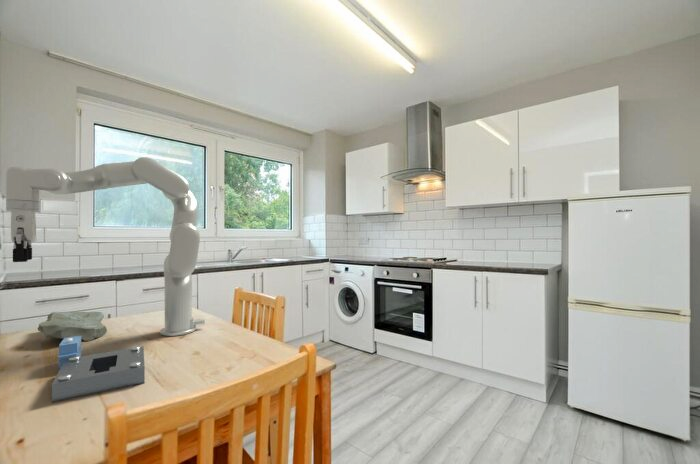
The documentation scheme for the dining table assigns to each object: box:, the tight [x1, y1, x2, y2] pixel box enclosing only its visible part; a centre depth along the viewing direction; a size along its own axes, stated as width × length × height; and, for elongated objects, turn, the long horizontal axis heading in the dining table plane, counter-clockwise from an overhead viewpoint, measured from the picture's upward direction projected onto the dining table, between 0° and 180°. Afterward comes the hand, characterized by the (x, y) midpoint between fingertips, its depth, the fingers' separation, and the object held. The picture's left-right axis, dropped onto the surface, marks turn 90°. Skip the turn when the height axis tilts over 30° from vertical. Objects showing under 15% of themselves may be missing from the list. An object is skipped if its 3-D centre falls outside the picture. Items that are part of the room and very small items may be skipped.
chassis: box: [51, 345, 146, 403], centre depth 88 cm, size 18×18×5 cm
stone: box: [37, 311, 108, 342], centre depth 125 cm, size 28×8×20 cm
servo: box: [57, 336, 83, 372], centre depth 96 cm, size 4×11×8 cm, turn 33°
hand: (22, 260), depth 104 cm, fingers open, 9 cm apart
